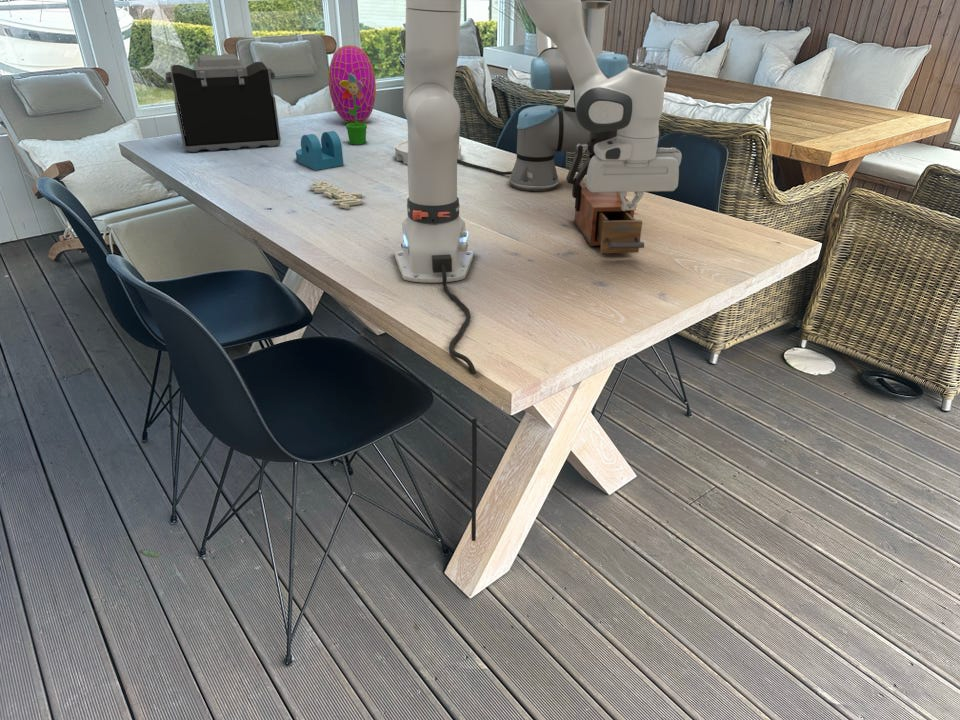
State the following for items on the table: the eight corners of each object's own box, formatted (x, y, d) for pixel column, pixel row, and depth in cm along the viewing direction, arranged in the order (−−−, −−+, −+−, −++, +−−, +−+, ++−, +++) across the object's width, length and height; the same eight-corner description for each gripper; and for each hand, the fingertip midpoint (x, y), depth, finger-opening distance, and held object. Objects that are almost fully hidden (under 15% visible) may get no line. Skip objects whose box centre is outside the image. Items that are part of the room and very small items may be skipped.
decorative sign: (374, 199, 198) (343, 206, 193) (375, 203, 198) (344, 209, 193) (332, 179, 216) (303, 184, 211) (332, 182, 216) (303, 187, 211)
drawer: (644, 259, 158) (648, 228, 154) (606, 260, 157) (609, 228, 154) (618, 229, 178) (621, 200, 175) (584, 229, 178) (586, 200, 174)
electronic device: (278, 133, 274) (267, 51, 259) (285, 146, 256) (274, 59, 241) (180, 140, 262) (162, 54, 247) (180, 153, 244) (161, 62, 229)
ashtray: (454, 167, 232) (454, 155, 230) (388, 164, 235) (387, 152, 233) (466, 151, 252) (466, 140, 250) (404, 148, 255) (404, 137, 253)
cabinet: (630, 244, 170) (635, 206, 166) (590, 245, 170) (593, 207, 165) (610, 221, 188) (614, 186, 183) (573, 222, 187) (576, 186, 182)
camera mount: (343, 165, 234) (340, 133, 228) (315, 170, 228) (311, 137, 223) (318, 154, 246) (315, 124, 240) (291, 159, 240) (287, 128, 235)
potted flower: (342, 144, 260) (336, 73, 247) (351, 139, 266) (346, 70, 254) (365, 146, 257) (360, 74, 245) (374, 141, 264) (369, 71, 251)
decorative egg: (362, 116, 305) (357, 42, 290) (386, 123, 292) (382, 46, 277) (324, 121, 294) (316, 45, 279) (347, 129, 281) (340, 49, 266)
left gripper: (678, 143, 151) (668, 205, 158) (586, 144, 150) (581, 206, 157) (688, 150, 146) (677, 213, 153) (593, 152, 144) (587, 215, 151)
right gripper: (646, 119, 174) (635, 204, 186) (558, 119, 173) (552, 205, 184) (655, 125, 168) (643, 213, 179) (563, 125, 166) (557, 214, 177)
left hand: (628, 210), depth 155 cm, fingers closed
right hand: (597, 209), depth 181 cm, fingers closed on cabinet, 10 cm apart
